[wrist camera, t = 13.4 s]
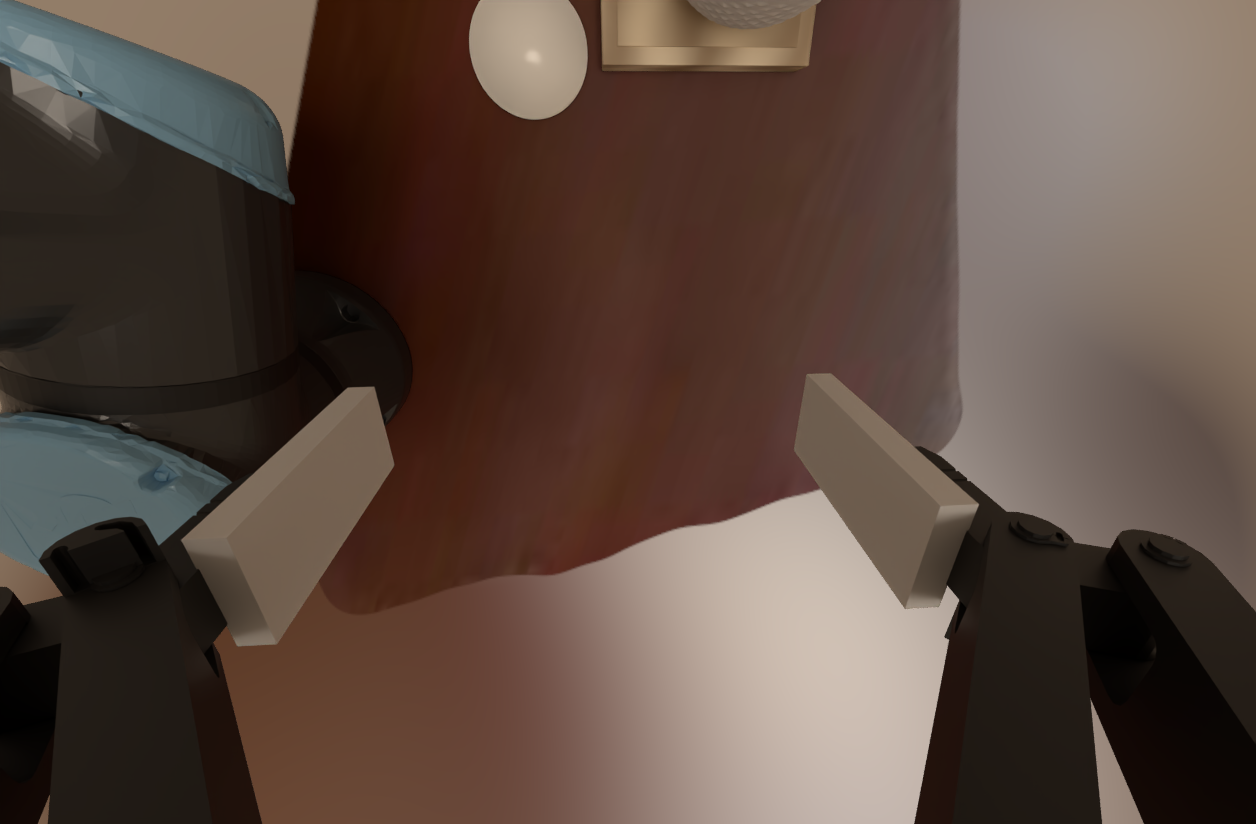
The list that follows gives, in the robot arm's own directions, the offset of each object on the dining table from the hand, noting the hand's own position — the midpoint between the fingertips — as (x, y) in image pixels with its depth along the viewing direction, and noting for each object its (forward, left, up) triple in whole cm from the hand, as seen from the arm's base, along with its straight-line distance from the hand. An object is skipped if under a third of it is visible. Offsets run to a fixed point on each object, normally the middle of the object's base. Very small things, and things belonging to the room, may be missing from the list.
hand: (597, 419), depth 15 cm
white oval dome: (-4, +14, -29) cm, 33 cm away
